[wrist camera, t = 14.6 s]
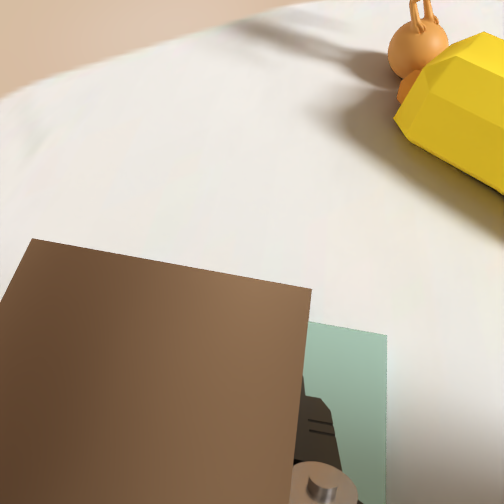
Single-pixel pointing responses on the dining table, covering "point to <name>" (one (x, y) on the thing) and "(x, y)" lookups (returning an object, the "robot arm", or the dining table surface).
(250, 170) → the dining table surface
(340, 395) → the teal board
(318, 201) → the dining table surface
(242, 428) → the walnut block
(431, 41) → the figurine
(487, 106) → the yellow faceted bar
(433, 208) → the dining table surface
